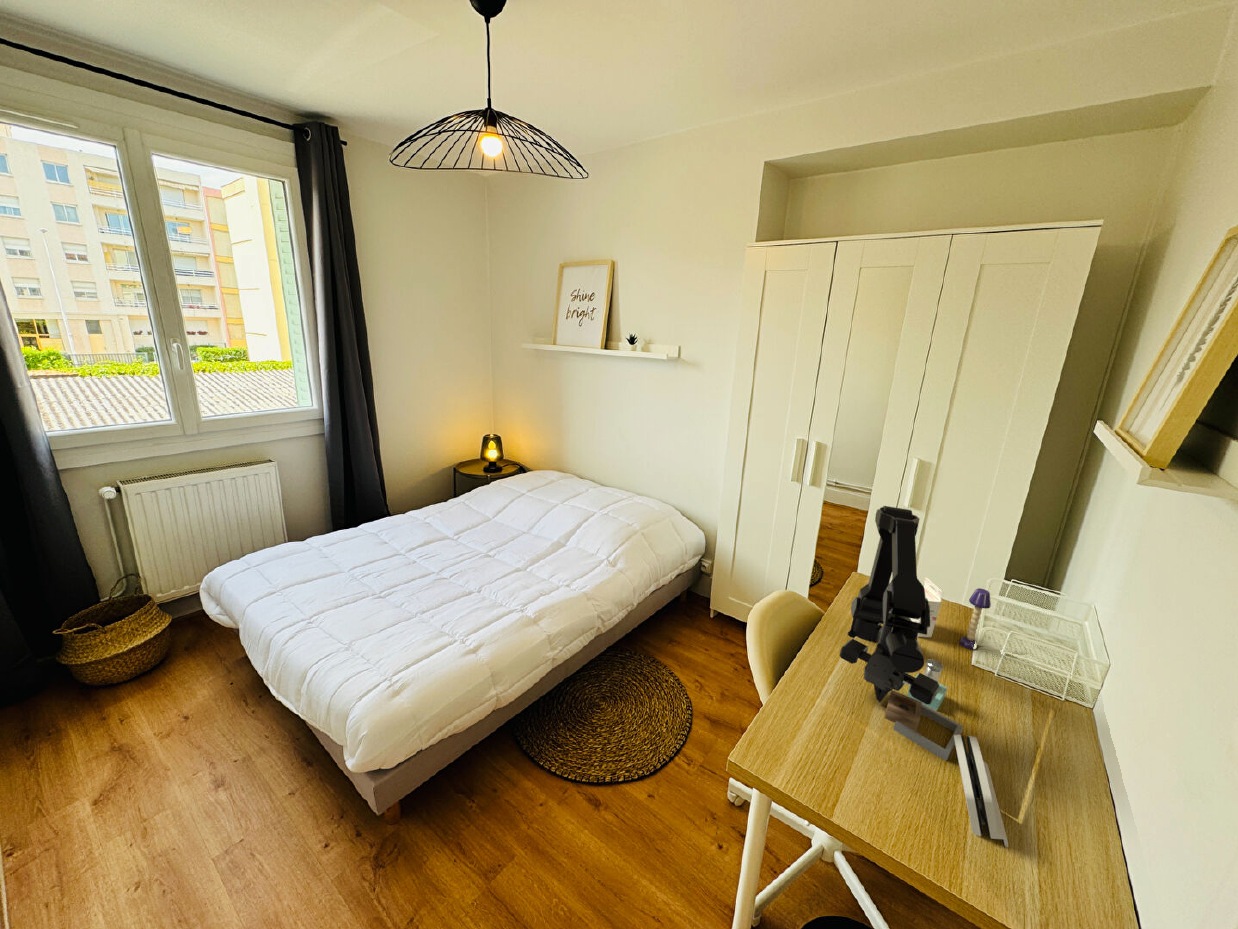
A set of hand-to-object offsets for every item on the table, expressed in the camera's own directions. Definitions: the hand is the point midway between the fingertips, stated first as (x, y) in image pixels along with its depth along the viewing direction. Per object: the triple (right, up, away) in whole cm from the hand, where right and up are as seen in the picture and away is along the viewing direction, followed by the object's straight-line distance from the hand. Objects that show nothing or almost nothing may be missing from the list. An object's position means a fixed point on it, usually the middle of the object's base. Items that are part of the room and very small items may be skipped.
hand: (879, 700), depth 107 cm
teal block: (+12, -2, +3) cm, 13 cm away
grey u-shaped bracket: (+6, -4, -6) cm, 10 cm away
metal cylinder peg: (+12, -1, +3) cm, 13 cm away
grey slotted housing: (+6, -8, -19) cm, 22 cm away
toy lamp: (+38, +3, +24) cm, 45 cm away
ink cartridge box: (+27, +6, +30) cm, 40 cm away
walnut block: (+3, -3, -3) cm, 5 cm away
